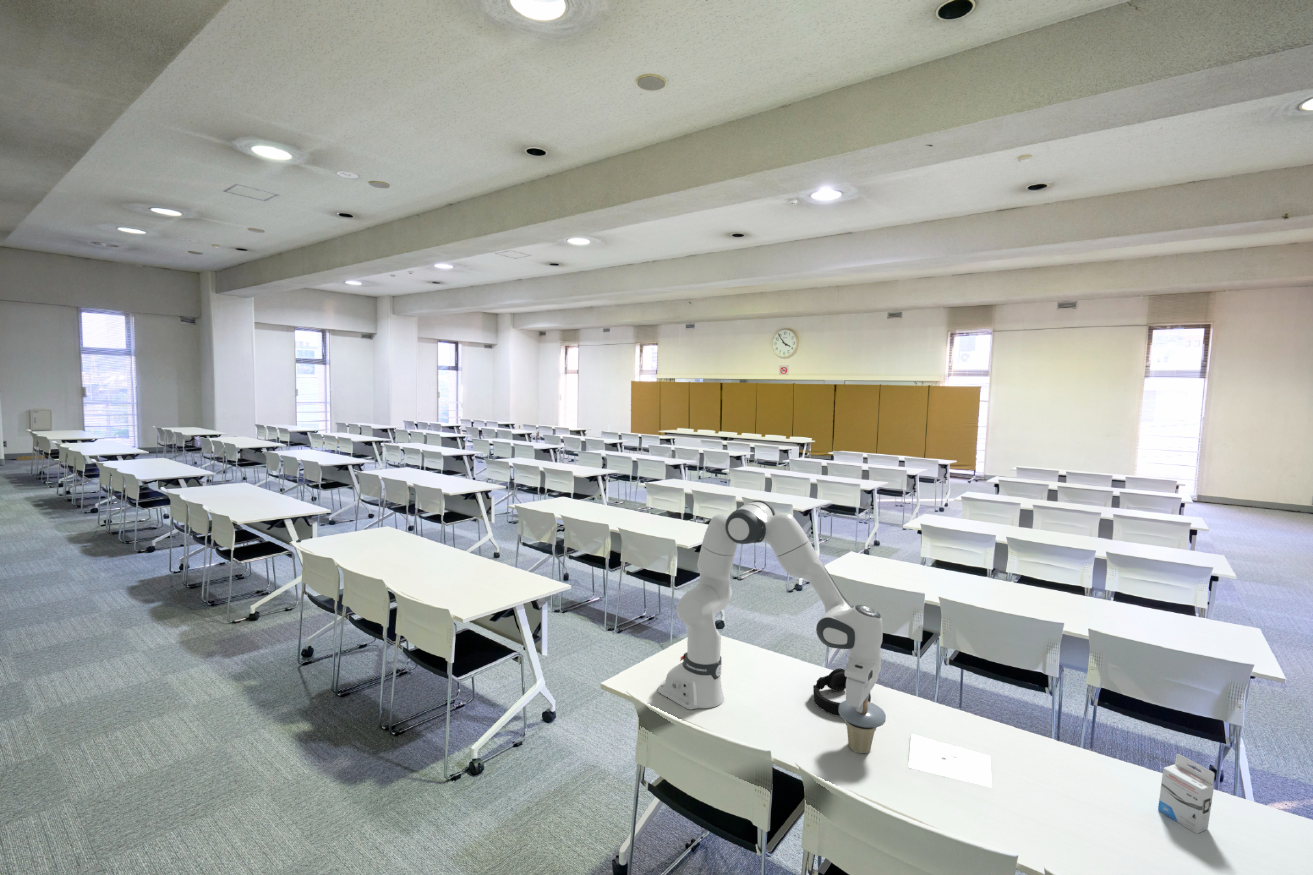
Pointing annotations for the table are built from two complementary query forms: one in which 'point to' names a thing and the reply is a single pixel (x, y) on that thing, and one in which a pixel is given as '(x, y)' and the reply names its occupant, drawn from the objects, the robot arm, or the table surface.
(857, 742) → the flower pot
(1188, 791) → the ink box
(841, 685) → the headphones
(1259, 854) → the table surface
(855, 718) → the lid
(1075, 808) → the table surface
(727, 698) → the table surface
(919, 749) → the paper sheet
